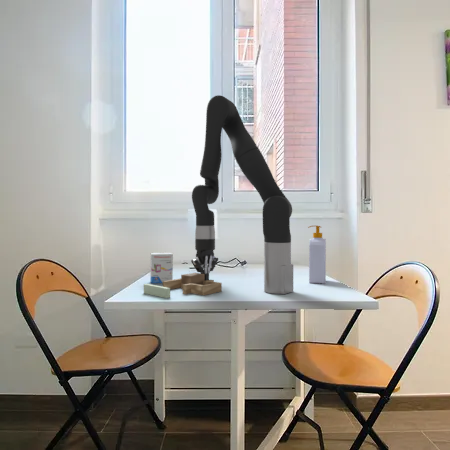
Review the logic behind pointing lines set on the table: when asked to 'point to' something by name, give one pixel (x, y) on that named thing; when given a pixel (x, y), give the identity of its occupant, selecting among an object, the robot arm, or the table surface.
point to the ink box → (161, 267)
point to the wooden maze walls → (195, 286)
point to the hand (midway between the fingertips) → (205, 283)
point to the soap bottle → (317, 258)
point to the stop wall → (157, 290)
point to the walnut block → (192, 279)
